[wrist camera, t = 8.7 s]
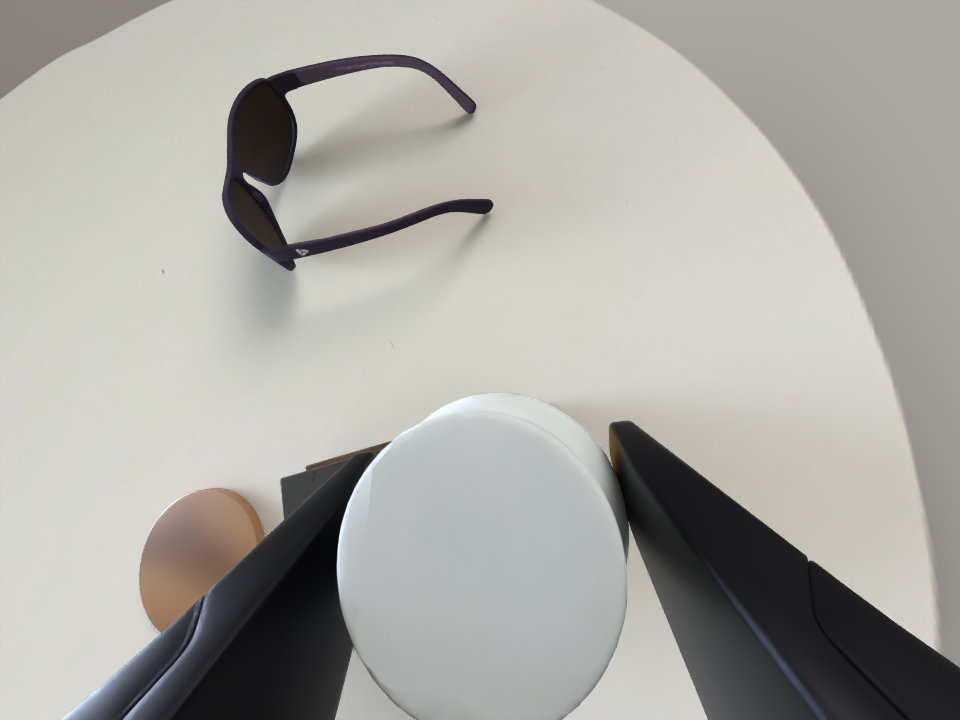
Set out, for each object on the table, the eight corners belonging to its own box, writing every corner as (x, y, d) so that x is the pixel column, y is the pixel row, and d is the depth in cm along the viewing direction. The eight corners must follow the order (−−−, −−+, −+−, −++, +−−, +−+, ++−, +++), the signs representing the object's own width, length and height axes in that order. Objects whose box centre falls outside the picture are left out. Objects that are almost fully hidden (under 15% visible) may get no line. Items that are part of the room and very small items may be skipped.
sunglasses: (278, 138, 27) (220, 73, 22) (470, 78, 25) (453, -9, 20) (279, 295, 23) (211, 259, 19) (502, 241, 21) (490, 184, 16)
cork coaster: (251, 647, 19) (242, 654, 18) (135, 626, 20) (123, 631, 19) (276, 493, 20) (268, 494, 20) (168, 483, 22) (157, 484, 21)
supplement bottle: (474, 571, 13) (316, 868, 4) (439, 436, 15) (264, 429, 5) (609, 532, 13) (784, 772, 3) (558, 397, 14) (585, 314, 5)
